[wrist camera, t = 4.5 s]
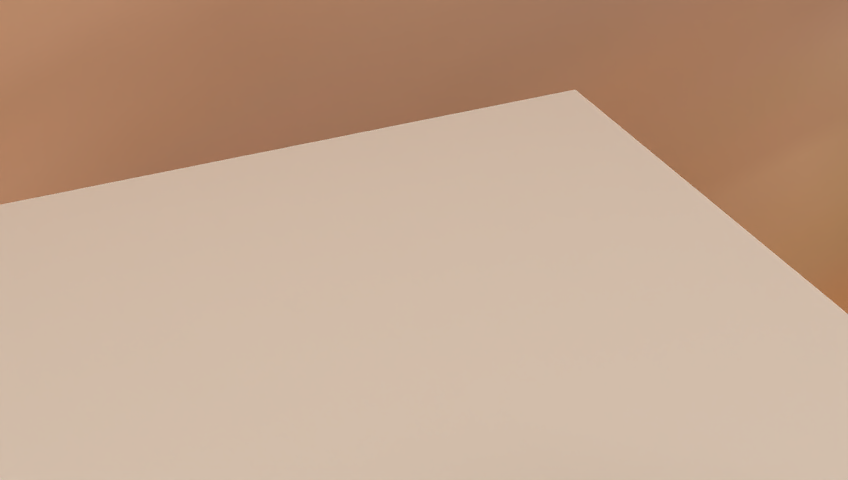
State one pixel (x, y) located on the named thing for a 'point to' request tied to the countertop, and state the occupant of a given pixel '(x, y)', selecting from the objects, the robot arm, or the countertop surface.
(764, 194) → the countertop surface
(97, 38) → the countertop surface
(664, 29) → the countertop surface
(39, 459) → the beige block
